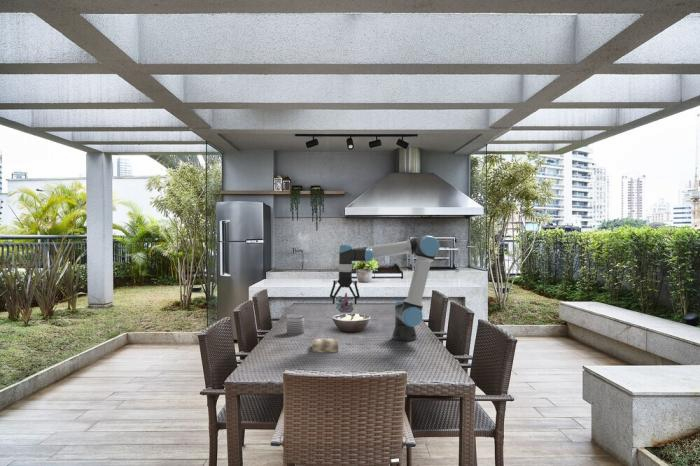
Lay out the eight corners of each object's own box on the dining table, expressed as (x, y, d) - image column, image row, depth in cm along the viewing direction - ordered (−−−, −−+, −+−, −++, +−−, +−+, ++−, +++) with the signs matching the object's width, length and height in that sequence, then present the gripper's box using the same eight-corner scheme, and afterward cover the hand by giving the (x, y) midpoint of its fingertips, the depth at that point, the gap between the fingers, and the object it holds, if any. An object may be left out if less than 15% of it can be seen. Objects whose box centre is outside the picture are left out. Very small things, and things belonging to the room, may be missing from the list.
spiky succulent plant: (355, 309, 271) (343, 292, 273) (340, 320, 273) (327, 303, 274) (358, 306, 282) (347, 290, 284) (344, 317, 284) (332, 300, 285)
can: (307, 334, 308) (307, 315, 308) (291, 336, 302) (291, 317, 302) (299, 331, 318) (299, 313, 318) (283, 333, 311) (283, 314, 311)
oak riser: (337, 345, 276) (337, 338, 276) (338, 352, 261) (338, 344, 261) (313, 346, 275) (313, 339, 275) (312, 352, 260) (312, 344, 260)
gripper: (364, 271, 282) (363, 309, 281) (325, 270, 281) (325, 308, 280) (365, 272, 274) (364, 311, 274) (325, 271, 273) (324, 310, 273)
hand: (344, 309), depth 277 cm, fingers closed on spiky succulent plant, 10 cm apart
